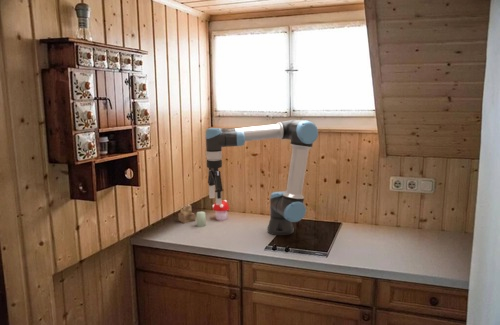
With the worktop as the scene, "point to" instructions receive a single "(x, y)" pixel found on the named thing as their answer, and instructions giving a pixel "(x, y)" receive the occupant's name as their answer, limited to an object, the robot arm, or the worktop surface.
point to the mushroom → (221, 210)
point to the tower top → (186, 210)
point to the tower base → (186, 218)
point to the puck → (201, 219)
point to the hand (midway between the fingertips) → (215, 201)
